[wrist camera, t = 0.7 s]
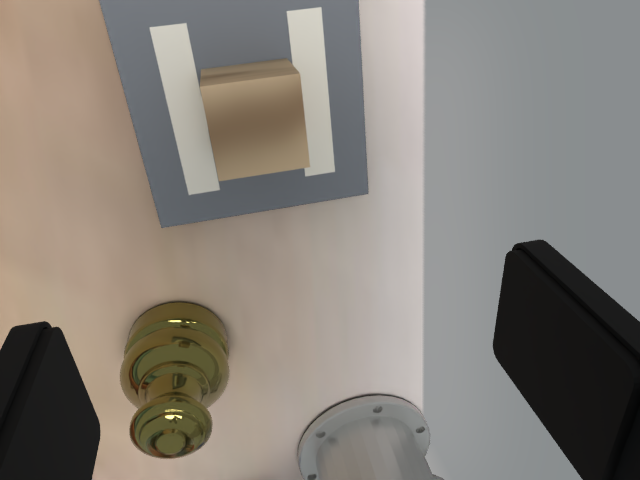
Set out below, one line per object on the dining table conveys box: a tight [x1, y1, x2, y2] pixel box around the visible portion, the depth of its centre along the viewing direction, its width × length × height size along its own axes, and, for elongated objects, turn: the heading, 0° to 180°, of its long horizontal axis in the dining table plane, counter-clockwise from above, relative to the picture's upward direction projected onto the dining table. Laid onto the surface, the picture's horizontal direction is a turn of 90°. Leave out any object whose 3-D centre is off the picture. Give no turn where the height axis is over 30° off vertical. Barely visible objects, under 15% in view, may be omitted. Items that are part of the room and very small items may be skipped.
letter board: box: [99, 0, 368, 228], centre depth 31 cm, size 14×14×1 cm
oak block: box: [200, 58, 310, 181], centre depth 29 cm, size 5×5×5 cm
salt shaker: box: [120, 302, 229, 459], centre depth 35 cm, size 7×7×10 cm
